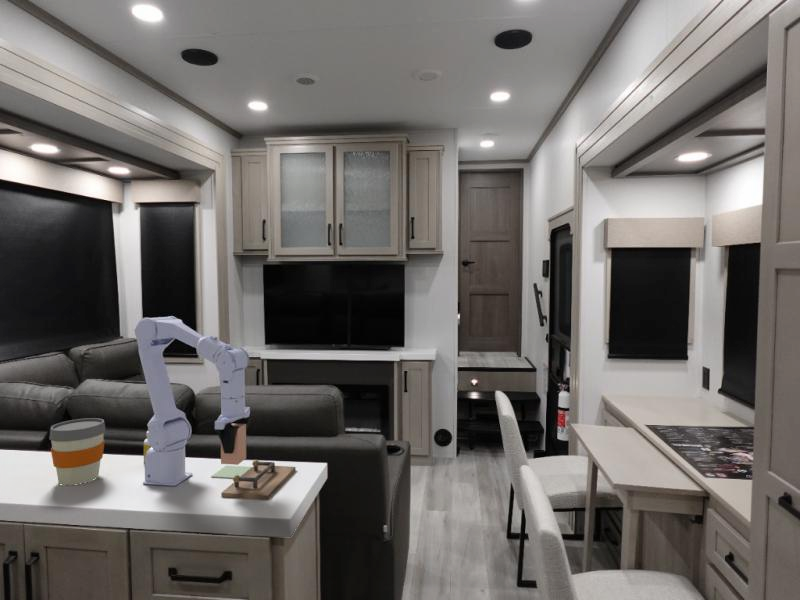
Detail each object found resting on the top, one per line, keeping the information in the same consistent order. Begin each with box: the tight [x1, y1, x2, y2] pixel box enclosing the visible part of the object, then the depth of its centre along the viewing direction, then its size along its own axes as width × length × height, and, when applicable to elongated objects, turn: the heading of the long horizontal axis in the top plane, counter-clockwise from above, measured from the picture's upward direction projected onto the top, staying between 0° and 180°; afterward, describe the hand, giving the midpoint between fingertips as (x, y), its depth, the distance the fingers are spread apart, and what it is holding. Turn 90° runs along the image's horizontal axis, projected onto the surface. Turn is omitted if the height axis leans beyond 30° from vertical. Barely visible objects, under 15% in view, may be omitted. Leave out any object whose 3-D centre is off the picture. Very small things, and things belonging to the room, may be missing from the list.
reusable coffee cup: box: [48, 417, 106, 486], centre depth 128 cm, size 13×13×15 cm
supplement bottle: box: [143, 430, 151, 467], centre depth 139 cm, size 5×5×10 cm
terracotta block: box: [220, 423, 247, 466], centre depth 121 cm, size 4×4×9 cm
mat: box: [210, 465, 253, 480], centre depth 133 cm, size 8×8×1 cm
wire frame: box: [220, 459, 296, 501], centre depth 126 cm, size 12×19×4 cm, turn 172°
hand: (233, 449), depth 121 cm, fingers closed on terracotta block, 4 cm apart
